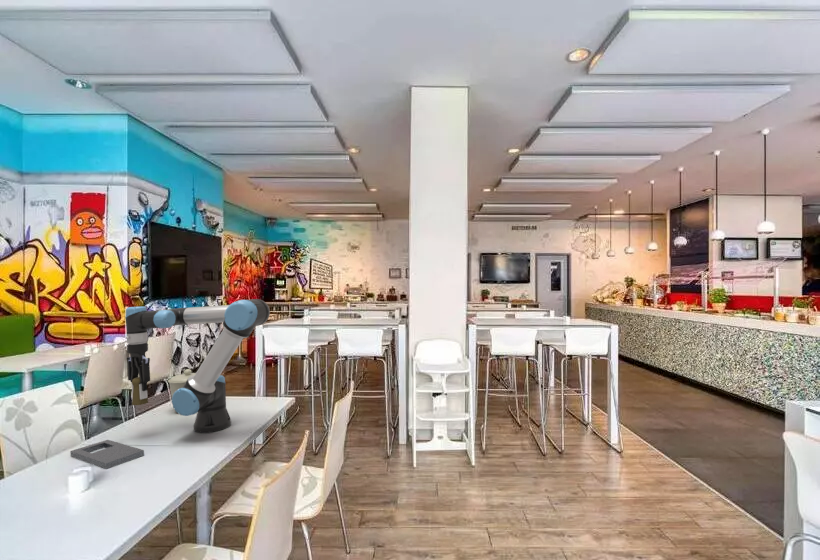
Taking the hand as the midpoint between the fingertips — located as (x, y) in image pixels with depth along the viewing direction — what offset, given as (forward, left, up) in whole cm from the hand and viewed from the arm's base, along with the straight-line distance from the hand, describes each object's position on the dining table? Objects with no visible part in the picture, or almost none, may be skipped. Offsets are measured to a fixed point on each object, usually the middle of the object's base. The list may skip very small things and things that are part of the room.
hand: (139, 397), depth 185 cm
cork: (0, 0, -3) cm, 3 cm away
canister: (+19, -34, -17) cm, 43 cm away
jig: (-9, +17, -17) cm, 26 cm away
